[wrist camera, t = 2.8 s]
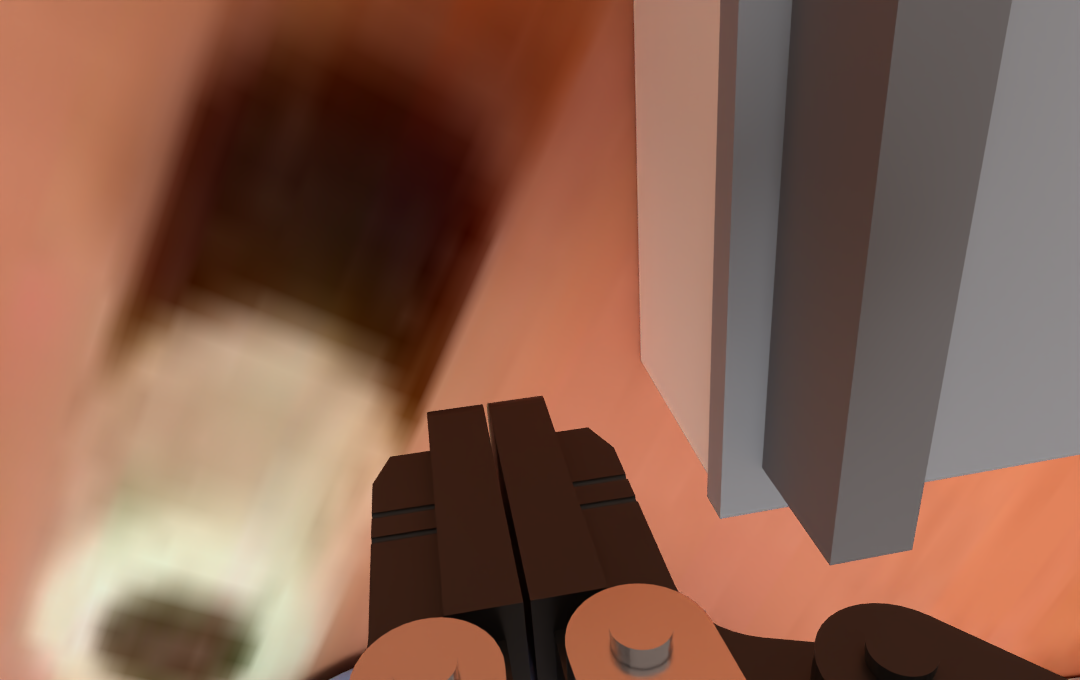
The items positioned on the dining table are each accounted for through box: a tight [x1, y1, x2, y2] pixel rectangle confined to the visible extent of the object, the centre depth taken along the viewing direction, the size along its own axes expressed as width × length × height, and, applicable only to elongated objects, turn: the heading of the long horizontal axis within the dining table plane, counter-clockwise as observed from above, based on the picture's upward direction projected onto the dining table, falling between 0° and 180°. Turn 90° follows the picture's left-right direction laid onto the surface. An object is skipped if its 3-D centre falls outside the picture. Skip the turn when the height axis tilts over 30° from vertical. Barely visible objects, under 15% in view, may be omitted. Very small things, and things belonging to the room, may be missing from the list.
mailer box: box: [634, 0, 720, 474], centre depth 19 cm, size 12×16×6 cm
